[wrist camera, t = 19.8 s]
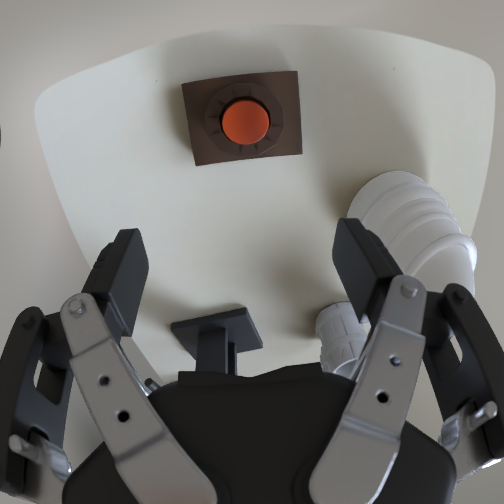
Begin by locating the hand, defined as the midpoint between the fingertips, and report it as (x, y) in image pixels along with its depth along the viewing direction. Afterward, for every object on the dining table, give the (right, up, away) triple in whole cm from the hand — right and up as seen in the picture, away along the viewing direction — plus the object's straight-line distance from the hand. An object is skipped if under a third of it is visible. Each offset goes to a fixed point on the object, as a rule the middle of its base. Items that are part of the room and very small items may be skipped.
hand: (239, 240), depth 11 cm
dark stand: (-5, -13, +32) cm, 34 cm away
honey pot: (+18, +4, +21) cm, 28 cm away
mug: (+13, -12, +32) cm, 37 cm away
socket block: (0, +13, +13) cm, 18 cm away
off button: (0, +10, +10) cm, 15 cm away
